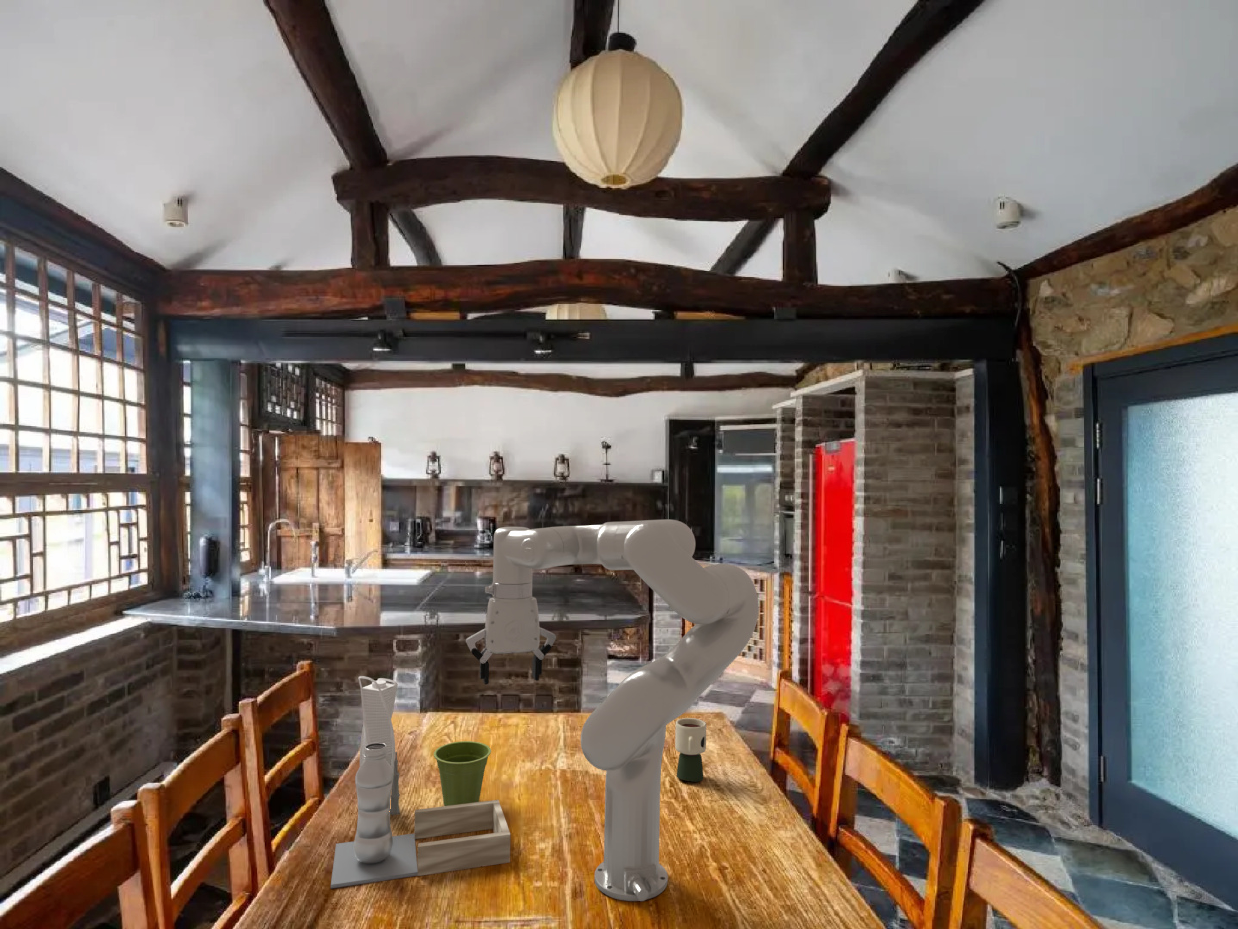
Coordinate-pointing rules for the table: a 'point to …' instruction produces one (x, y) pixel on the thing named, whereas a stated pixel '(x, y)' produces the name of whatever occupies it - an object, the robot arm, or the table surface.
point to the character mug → (690, 748)
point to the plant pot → (461, 771)
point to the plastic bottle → (373, 806)
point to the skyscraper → (380, 726)
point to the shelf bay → (462, 849)
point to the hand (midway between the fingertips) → (510, 680)
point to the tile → (392, 867)
